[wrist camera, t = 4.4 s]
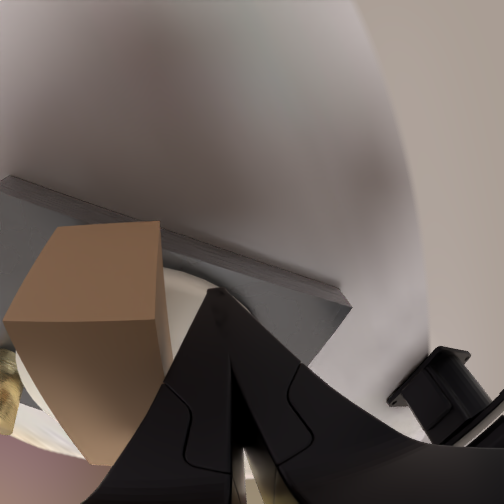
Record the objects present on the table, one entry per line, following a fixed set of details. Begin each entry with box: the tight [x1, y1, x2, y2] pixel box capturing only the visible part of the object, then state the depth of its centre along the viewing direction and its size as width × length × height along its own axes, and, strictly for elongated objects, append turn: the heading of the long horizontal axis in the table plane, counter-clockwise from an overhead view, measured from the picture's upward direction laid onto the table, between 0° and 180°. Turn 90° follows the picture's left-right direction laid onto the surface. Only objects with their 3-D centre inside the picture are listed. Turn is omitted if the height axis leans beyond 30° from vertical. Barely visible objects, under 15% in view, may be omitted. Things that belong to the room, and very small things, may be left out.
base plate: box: [0, 175, 353, 411], centre depth 14 cm, size 15×12×2 cm
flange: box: [2, 221, 252, 466], centre depth 10 cm, size 11×13×5 cm
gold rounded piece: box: [0, 349, 24, 435], centre depth 10 cm, size 2×2×4 cm
